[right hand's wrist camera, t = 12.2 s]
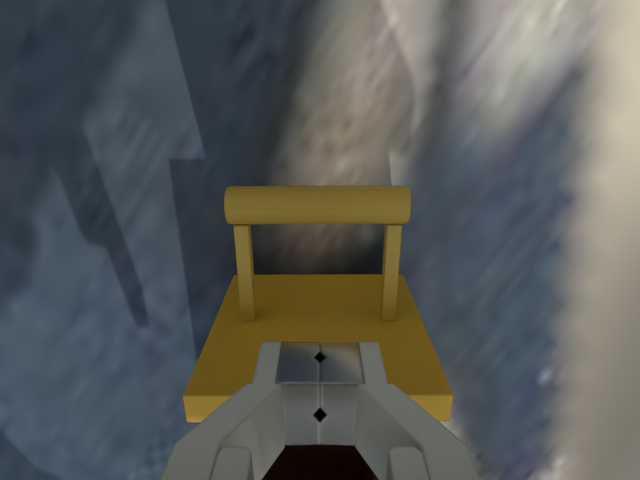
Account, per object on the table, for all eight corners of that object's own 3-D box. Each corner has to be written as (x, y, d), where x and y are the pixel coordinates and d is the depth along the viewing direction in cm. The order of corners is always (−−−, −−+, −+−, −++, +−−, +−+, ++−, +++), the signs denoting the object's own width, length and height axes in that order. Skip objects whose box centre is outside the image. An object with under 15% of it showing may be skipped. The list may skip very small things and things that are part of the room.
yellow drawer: (223, 164, 20) (154, 230, 12) (412, 163, 20) (479, 228, 12) (256, 527, 30) (232, 705, 21) (382, 527, 30) (407, 704, 21)
